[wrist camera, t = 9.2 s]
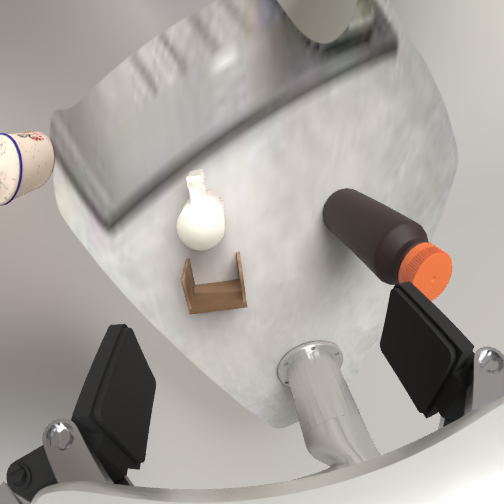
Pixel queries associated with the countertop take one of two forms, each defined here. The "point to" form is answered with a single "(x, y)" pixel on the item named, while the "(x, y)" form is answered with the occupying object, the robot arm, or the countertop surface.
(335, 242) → the countertop surface
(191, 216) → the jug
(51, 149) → the teacup with lid
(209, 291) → the caddy
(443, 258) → the bottle
